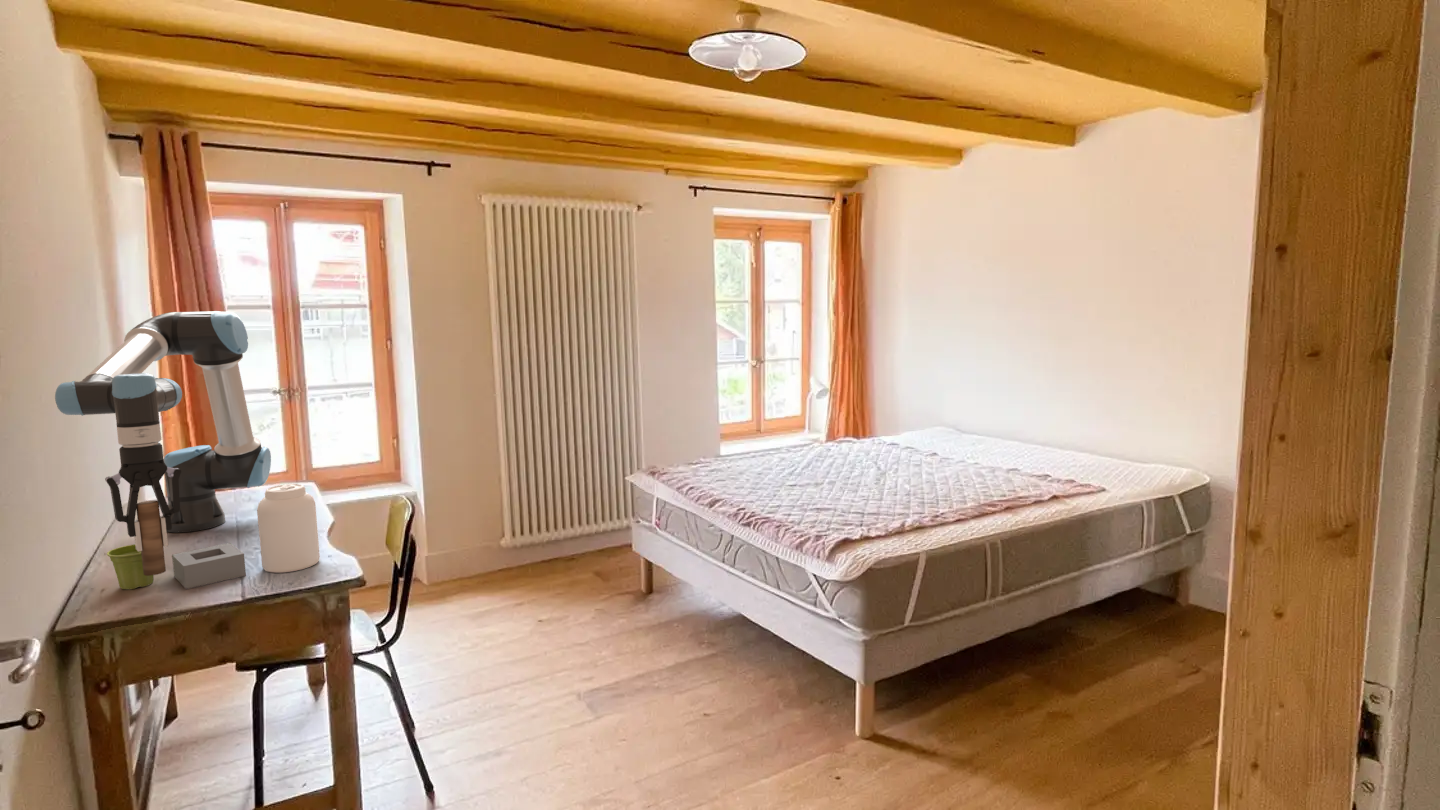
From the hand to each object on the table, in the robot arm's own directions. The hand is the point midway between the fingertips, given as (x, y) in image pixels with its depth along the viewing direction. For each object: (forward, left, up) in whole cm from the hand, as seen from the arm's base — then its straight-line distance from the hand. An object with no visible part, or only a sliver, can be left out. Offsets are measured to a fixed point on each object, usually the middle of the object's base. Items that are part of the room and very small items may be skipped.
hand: (152, 547), depth 168 cm
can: (+2, +27, -11) cm, 29 cm away
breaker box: (-4, +11, -11) cm, 16 cm away
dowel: (0, 0, -6) cm, 6 cm away
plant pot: (-10, -2, -11) cm, 15 cm away
